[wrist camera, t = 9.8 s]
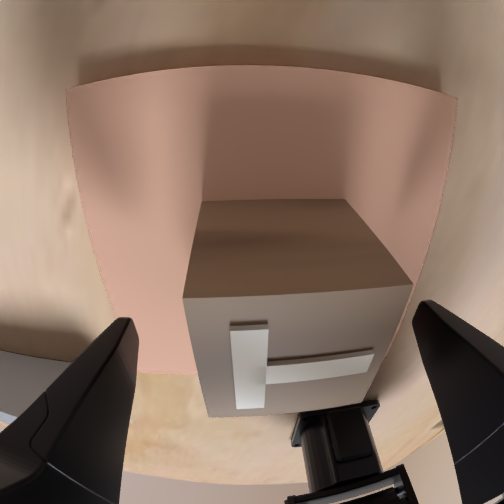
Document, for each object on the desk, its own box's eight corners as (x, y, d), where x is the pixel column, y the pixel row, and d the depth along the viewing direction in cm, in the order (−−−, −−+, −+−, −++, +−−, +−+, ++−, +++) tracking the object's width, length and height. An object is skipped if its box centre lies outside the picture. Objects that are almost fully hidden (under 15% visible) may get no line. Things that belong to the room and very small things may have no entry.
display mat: (380, 345, 16) (386, 357, 16) (140, 358, 16) (137, 372, 15) (442, 94, 9) (457, 97, 8) (78, 87, 8) (65, 89, 7)
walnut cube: (327, 306, 13) (362, 405, 9) (212, 312, 13) (208, 421, 8) (344, 199, 10) (416, 288, 6) (201, 201, 10) (181, 303, 6)
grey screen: (124, 385, 17) (110, 451, 13) (-14, 360, 16) (-35, 405, 12) (114, 367, 16) (97, 437, 12) (-25, 344, 15) (-50, 389, 11)
